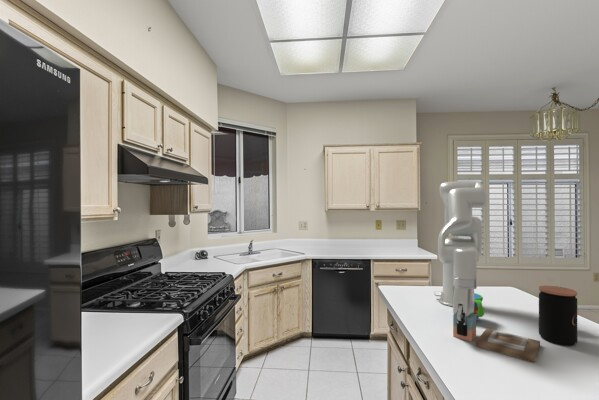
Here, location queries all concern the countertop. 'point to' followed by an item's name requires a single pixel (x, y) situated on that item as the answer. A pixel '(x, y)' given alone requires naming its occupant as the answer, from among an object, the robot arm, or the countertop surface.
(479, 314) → the snack cup
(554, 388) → the countertop surface
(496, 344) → the walnut board
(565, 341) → the coffee jar
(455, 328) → the teal and orange block
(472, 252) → the robot arm
